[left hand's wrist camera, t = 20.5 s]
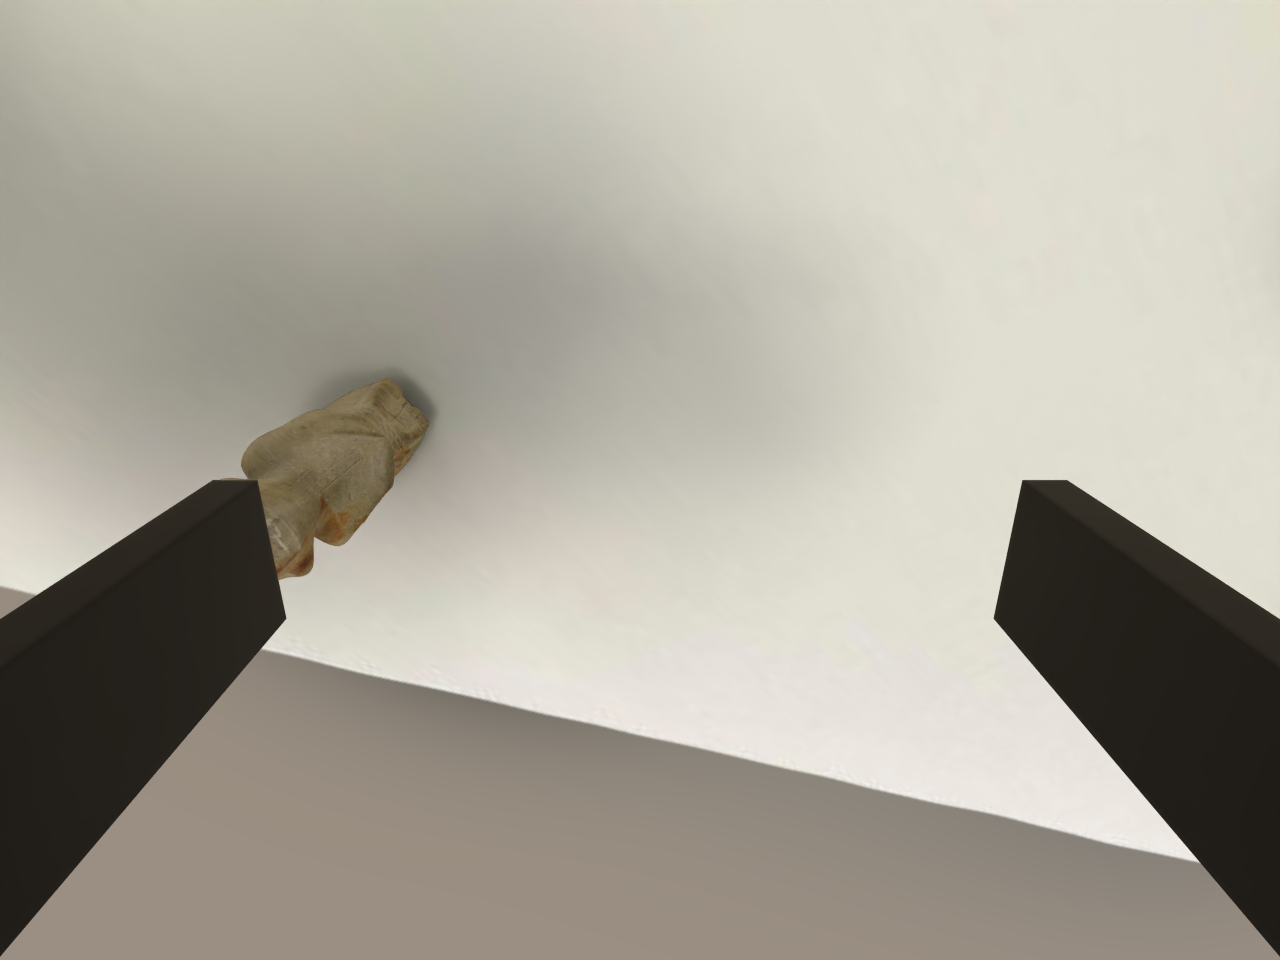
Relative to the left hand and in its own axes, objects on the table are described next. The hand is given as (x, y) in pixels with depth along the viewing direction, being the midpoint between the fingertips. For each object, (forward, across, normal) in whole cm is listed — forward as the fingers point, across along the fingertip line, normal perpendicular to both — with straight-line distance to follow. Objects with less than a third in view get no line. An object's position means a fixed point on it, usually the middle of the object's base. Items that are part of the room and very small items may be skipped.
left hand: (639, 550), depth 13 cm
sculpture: (+27, +15, +6) cm, 32 cm away
